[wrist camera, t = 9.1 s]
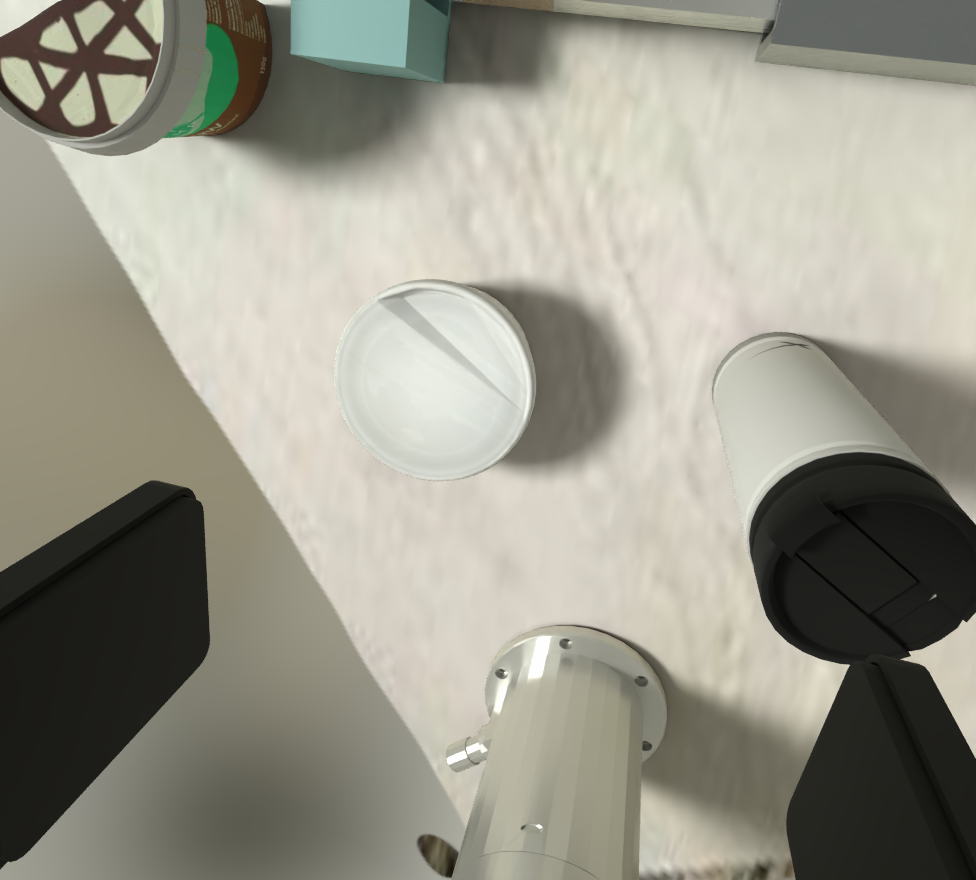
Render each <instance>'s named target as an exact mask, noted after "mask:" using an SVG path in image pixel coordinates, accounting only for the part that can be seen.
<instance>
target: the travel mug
mask: <svg viewBox="0 0 976 880" xmlns="http://www.w3.org/2000/svg"><path fill="white" fill-rule="evenodd" d="M712 397H713V404H714V408H715V412H716V417H717V421H718V425H719V429H720V434H721V438H722V442H723V447H724V451H725V455H726V460H727V464H728V468H729V472H730V477H731V481H732V485H733V490H734V494H735V498H736V502H737V507H738V511H739V515H740V520H741V524H742V528H743V533H744V537H745V541H746V544H747V550H748V554H749V557H750V560H751V563H752V566H753V568H754V572H755V576H756V580H757V584H758V588H759V592H760V597H761V601H762V604H763V607H764V610H765V613H766V616H767V618H768V619H769V621H770V622H771V624H772V626H773V627H774V629H775V630H776V631H777V632H778V633H779V634H780V635H781V636H782V637H783V638H784V639H785V640H786V641H787V642H788V643H790V644H792V645H793V646H795V647H796V648H798V649H799V650H801V651H802V652H805V653H807V654H809V655H812V656H814V657H817V658H819V659H822V660H826V661H831V662H835V663H839V664H849V665H851V664H852V663H853V662H854V661H860V662H865V661H866V659H867V658H868V657H869V656H870V655H872V654H879V655H883V656H887V657H891V658H896V659H902V658H906V657H909V656H911V655H910V654H909V652H908V651H914V650H920V649H923V648H925V647H927V646H929V645H931V644H933V643H935V642H937V641H939V640H941V639H943V638H944V637H945V636H947V635H948V634H949V633H951V632H952V631H954V630H955V629H956V628H958V626H959V625H960V623H961V621H962V620H964V621H965V622H967V621H968V620H969V619H970V618H971V617H972V616H973V615H974V614H975V613H976V525H975V523H974V522H973V521H972V520H971V519H970V518H969V517H968V516H967V514H966V513H965V512H964V511H963V510H962V509H961V508H960V507H959V505H958V504H957V503H956V502H955V501H954V500H953V499H952V497H951V495H950V493H949V492H948V490H947V489H946V488H945V487H944V486H943V485H942V483H941V482H940V481H939V480H938V479H937V478H936V476H935V475H934V474H933V473H932V472H931V471H930V470H929V469H928V468H927V466H926V465H925V464H924V463H923V462H922V461H921V460H920V459H919V458H918V456H917V455H916V454H915V453H914V452H913V451H912V450H911V449H910V448H909V446H908V445H907V444H906V443H905V442H904V441H903V440H902V439H901V437H900V436H899V435H898V434H897V433H896V432H895V431H894V430H893V429H892V427H891V426H890V425H889V424H888V423H887V422H886V421H885V420H884V419H883V417H882V416H881V415H880V414H879V413H878V412H877V411H876V410H875V409H874V407H873V406H872V405H871V404H870V403H869V402H868V401H867V400H866V398H865V397H864V396H863V395H862V394H861V393H860V392H859V391H858V390H857V388H856V387H855V386H854V385H853V384H852V383H851V382H850V381H849V380H848V378H847V377H846V376H845V375H844V374H843V373H842V372H841V371H840V370H839V368H838V367H837V366H836V365H835V364H834V363H833V362H832V361H831V359H830V358H829V357H828V356H827V355H826V354H825V353H824V352H823V351H822V349H821V348H820V347H818V346H817V345H816V344H814V343H813V342H812V341H810V340H808V339H806V338H804V337H801V336H799V335H795V334H790V333H779V332H774V333H767V334H761V335H758V336H755V337H752V338H750V339H748V340H746V341H744V342H742V343H740V344H739V345H738V346H736V347H735V348H734V349H732V350H731V351H730V352H729V353H728V354H727V356H726V357H725V358H724V359H723V360H722V362H721V364H720V365H719V367H718V369H717V371H716V374H715V377H714V379H713V386H712Z"/></svg>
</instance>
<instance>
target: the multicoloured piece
mask: <svg viewBox="0 0 976 880" xmlns="http://www.w3.org/2000/svg"><path fill="white" fill-rule="evenodd" d="M447 1H457V2H466V3H476V4H485V5H495V6H505V7H515V8H524V9H534V10H544V11H554V12H564V13H574V14H584V15H593V16H603V17H613V18H623V19H632V20H642V21H652V22H661V23H671V24H681V25H691V26H700V27H710V28H720V29H730V30H739V31H749V32H759V33H768V34H770V32H771V31H772V30H773V28H774V24H775V20H776V16H777V12H778V8H779V4H780V0H447Z"/></svg>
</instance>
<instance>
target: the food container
mask: <svg viewBox="0 0 976 880" xmlns="http://www.w3.org/2000/svg"><path fill="white" fill-rule="evenodd" d="M271 62H272V39H271V32H270V26H269V21H268V17H267V14H266V10H265V7H264V4H262V3H260V2H259V1H257V0H61V1H59V2H57V3H55V4H54V5H52V6H51V7H49V8H47V9H46V10H44V11H43V12H41V13H40V14H39V15H37V16H36V17H34V18H33V19H31V20H30V21H28V22H27V23H25V24H24V25H22V26H21V27H19V28H17V29H15V30H13V31H11V32H9V33H7V34H5V35H4V36H2V37H0V109H1V110H2V111H3V112H4V113H5V114H6V115H7V116H9V117H10V118H12V119H13V120H15V121H16V122H17V123H19V124H21V125H22V126H24V127H26V128H27V129H29V130H30V131H32V132H33V133H35V134H37V135H39V136H41V137H43V138H45V139H47V140H49V141H51V142H55V143H58V144H61V145H64V146H67V147H71V148H74V149H77V150H80V151H84V152H87V153H90V154H96V155H104V156H117V155H127V154H131V153H134V152H137V151H141V150H143V149H145V148H147V147H149V146H151V145H152V144H154V143H156V142H158V141H159V140H160V139H161V138H173V137H189V136H205V135H219V134H223V133H226V132H229V131H231V130H233V129H235V128H237V127H239V126H240V125H241V124H243V123H244V122H245V121H246V120H247V119H249V117H250V116H251V115H252V114H253V113H254V111H255V110H256V109H257V107H258V105H259V103H260V102H261V100H262V98H263V96H264V93H265V90H266V88H267V85H268V81H269V76H270V72H271Z"/></svg>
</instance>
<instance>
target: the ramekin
mask: <svg viewBox="0 0 976 880" xmlns="http://www.w3.org/2000/svg"><path fill="white" fill-rule="evenodd" d="M334 383H335V391H336V396H337V400H338V403H339V406H340V409H341V412H342V415H343V417H344V419H345V421H346V423H347V425H348V427H349V428H350V430H351V432H352V434H353V435H354V436H355V437H356V438H357V439H358V441H359V442H360V443H361V445H363V447H364V448H365V449H366V450H367V451H369V452H370V453H371V454H372V455H373V456H374V457H375V458H377V459H378V460H379V461H381V462H382V463H384V464H385V465H387V466H389V467H390V468H392V469H394V470H396V471H398V472H400V473H402V474H405V475H407V476H411V477H415V478H417V479H421V480H428V481H451V480H459V479H464V478H468V477H471V476H474V475H476V474H479V473H481V472H483V471H485V470H487V469H489V468H491V467H492V466H494V465H495V464H497V463H498V462H499V461H500V460H502V459H503V458H504V457H505V456H506V455H507V454H508V453H509V452H510V451H511V450H512V449H513V447H514V446H515V445H516V444H517V442H518V441H519V440H520V438H521V436H522V435H523V433H524V431H525V430H526V428H527V426H528V423H529V421H530V418H531V415H532V412H533V408H534V404H535V398H536V374H535V368H534V362H533V358H532V355H531V352H530V349H529V343H528V341H527V339H526V336H525V333H524V332H523V330H522V328H521V326H520V324H519V323H518V322H517V321H516V319H515V318H514V316H513V314H512V313H511V312H509V311H508V310H507V308H506V307H505V306H504V305H502V304H501V303H500V302H498V301H497V300H496V299H495V298H493V297H491V296H489V295H488V294H487V293H485V292H482V291H479V290H478V289H476V288H473V287H468V286H466V285H462V284H459V283H455V282H451V281H445V280H436V279H423V280H414V281H409V282H405V283H401V284H398V285H395V286H393V287H390V288H388V289H386V290H384V291H382V292H380V293H379V294H377V295H376V296H374V297H373V298H371V299H370V300H368V301H367V302H366V303H365V304H364V305H363V306H362V307H361V308H360V309H359V310H358V311H357V312H356V313H355V314H354V316H353V317H352V318H351V320H350V321H349V323H348V325H347V326H346V328H345V330H344V332H343V334H342V336H341V339H340V341H339V344H338V348H337V352H336V358H335V366H334Z"/></svg>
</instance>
